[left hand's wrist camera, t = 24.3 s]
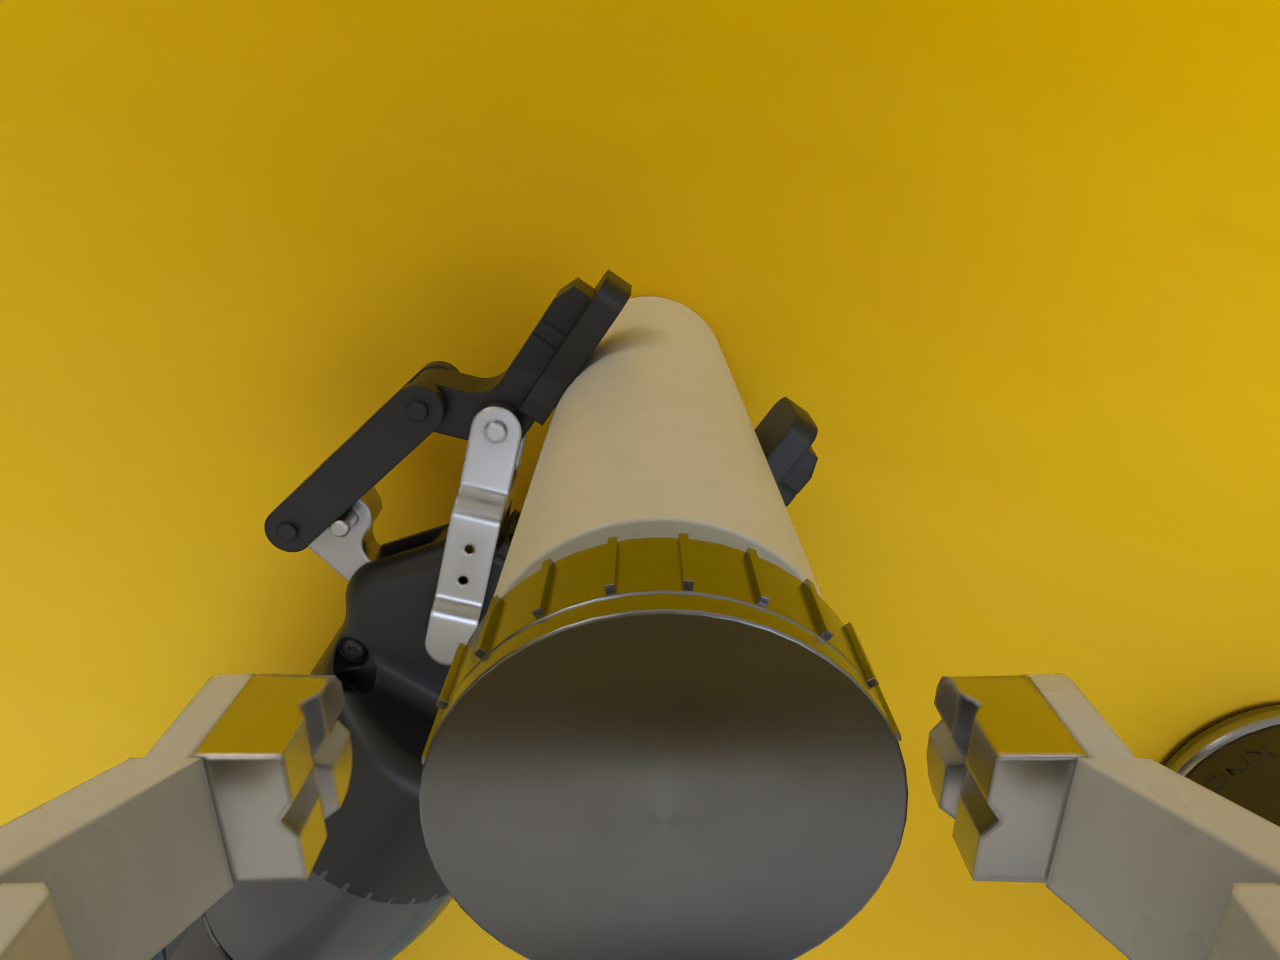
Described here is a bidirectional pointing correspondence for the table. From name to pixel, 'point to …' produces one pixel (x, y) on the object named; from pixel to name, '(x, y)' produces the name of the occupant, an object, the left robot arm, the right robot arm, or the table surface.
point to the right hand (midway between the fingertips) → (710, 351)
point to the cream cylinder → (652, 452)
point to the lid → (662, 761)
